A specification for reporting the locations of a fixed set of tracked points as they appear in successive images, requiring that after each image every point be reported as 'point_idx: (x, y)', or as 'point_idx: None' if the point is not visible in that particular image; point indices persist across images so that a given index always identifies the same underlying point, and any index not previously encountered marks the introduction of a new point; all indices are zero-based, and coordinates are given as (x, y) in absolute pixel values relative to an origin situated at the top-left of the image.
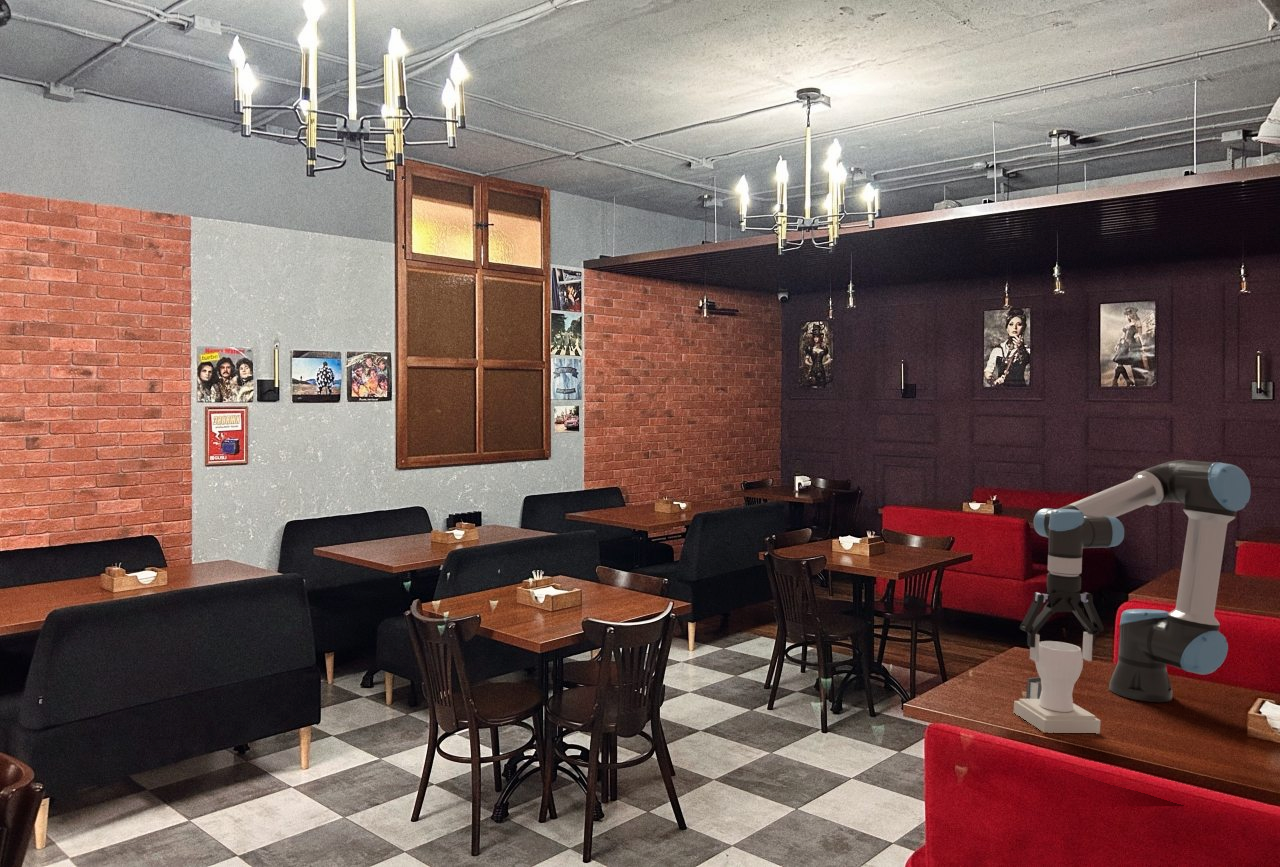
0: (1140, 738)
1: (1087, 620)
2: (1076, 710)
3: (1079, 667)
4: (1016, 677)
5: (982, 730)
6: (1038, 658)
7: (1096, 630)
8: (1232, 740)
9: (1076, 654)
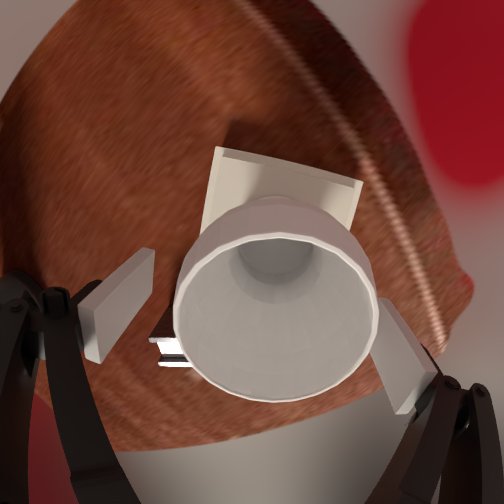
0: (153, 111)
1: (58, 384)
2: (239, 202)
3: (248, 203)
4: (166, 415)
5: (447, 231)
6: (384, 304)
7: (43, 312)
8: (27, 104)
9: (263, 224)
